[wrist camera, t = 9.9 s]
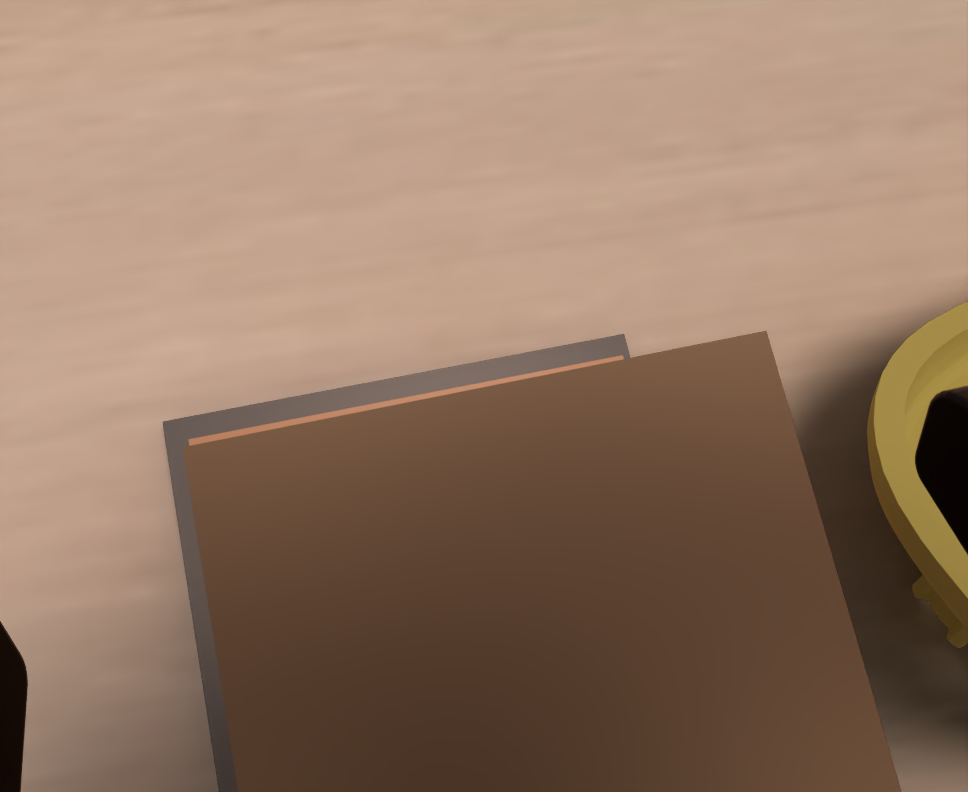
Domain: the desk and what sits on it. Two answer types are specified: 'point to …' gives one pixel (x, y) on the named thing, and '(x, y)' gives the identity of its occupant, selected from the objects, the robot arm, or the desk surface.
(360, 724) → the walnut post
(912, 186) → the desk surface
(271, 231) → the desk surface
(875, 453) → the plastic component
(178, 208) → the desk surface
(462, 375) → the socket board
